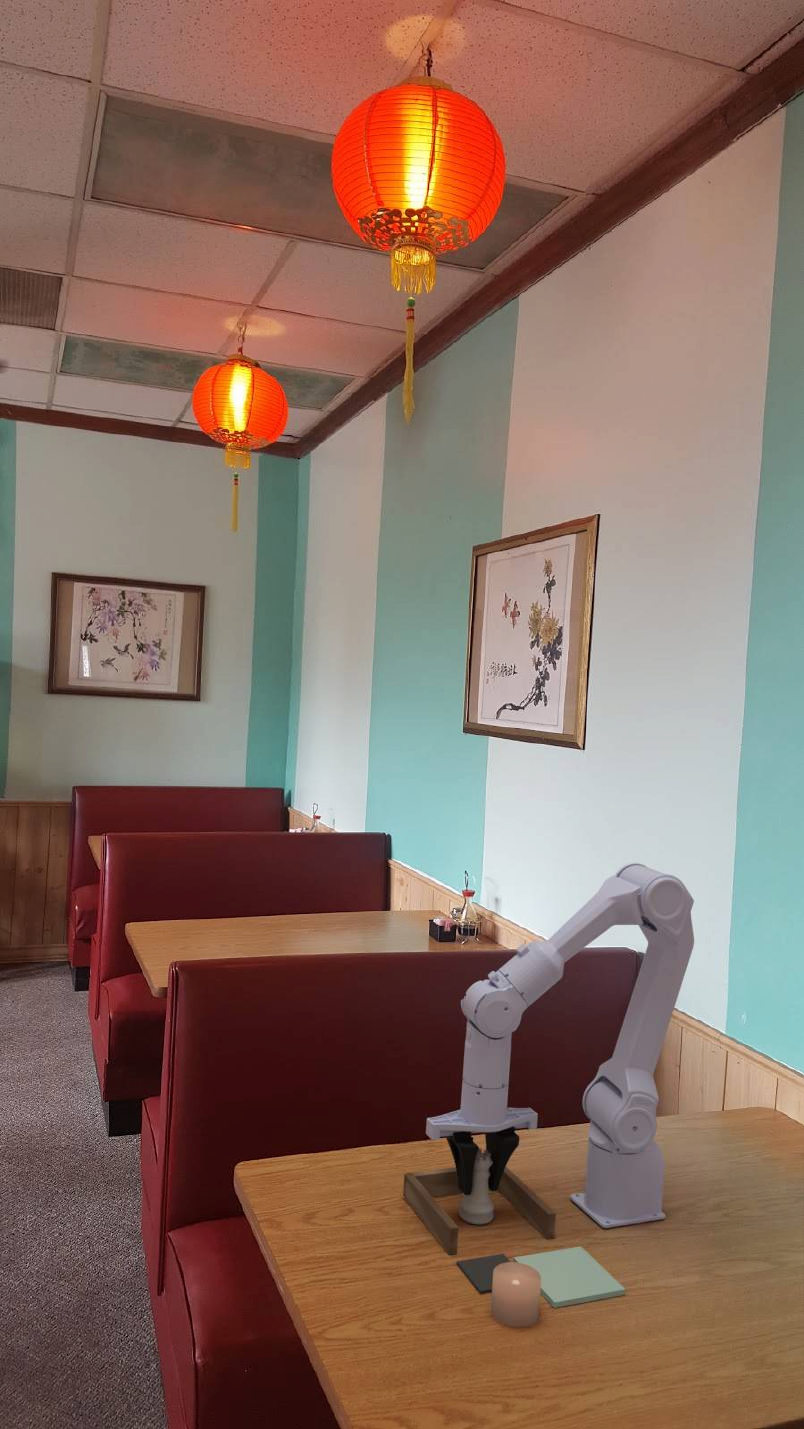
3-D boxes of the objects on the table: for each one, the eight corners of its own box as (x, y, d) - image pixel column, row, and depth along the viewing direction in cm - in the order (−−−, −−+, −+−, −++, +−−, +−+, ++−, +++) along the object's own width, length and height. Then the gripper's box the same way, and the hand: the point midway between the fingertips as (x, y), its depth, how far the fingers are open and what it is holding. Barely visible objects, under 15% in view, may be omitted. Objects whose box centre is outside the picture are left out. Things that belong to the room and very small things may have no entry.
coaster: (580, 1251, 118) (580, 1246, 118) (625, 1294, 110) (625, 1289, 110) (513, 1262, 115) (513, 1257, 115) (554, 1308, 106) (554, 1302, 106)
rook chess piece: (492, 1228, 122) (496, 1163, 122) (455, 1222, 123) (460, 1157, 123) (495, 1211, 126) (500, 1148, 126) (460, 1205, 127) (465, 1142, 127)
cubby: (499, 1184, 134) (501, 1161, 134) (554, 1237, 121) (555, 1213, 121) (402, 1196, 128) (404, 1173, 128) (449, 1254, 115) (450, 1228, 115)
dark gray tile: (503, 1256, 116) (503, 1253, 116) (529, 1285, 110) (529, 1282, 110) (456, 1263, 114) (456, 1261, 114) (480, 1293, 108) (480, 1291, 108)
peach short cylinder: (523, 1295, 108) (526, 1259, 108) (547, 1323, 104) (550, 1284, 104) (482, 1303, 106) (485, 1265, 106) (504, 1331, 102) (507, 1292, 102)
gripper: (521, 1065, 131) (513, 1168, 131) (419, 1073, 125) (411, 1181, 125) (548, 1085, 124) (541, 1193, 124) (442, 1094, 119) (435, 1208, 119)
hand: (478, 1189), depth 125 cm, fingers closed on rook chess piece, 3 cm apart
